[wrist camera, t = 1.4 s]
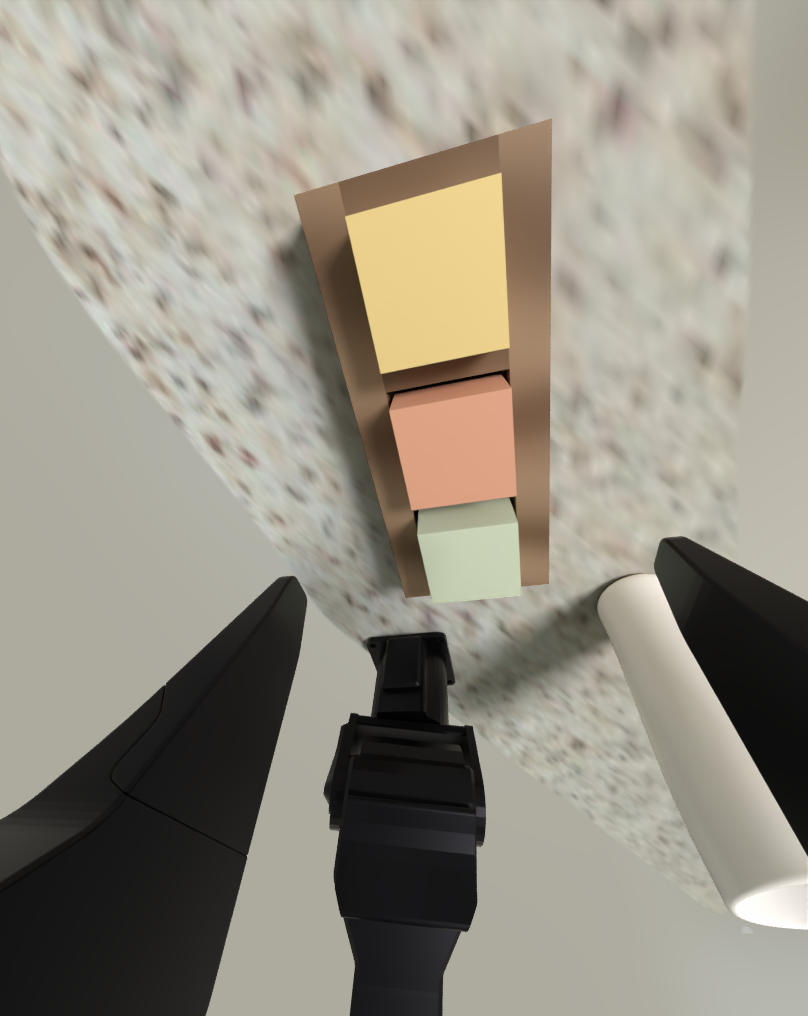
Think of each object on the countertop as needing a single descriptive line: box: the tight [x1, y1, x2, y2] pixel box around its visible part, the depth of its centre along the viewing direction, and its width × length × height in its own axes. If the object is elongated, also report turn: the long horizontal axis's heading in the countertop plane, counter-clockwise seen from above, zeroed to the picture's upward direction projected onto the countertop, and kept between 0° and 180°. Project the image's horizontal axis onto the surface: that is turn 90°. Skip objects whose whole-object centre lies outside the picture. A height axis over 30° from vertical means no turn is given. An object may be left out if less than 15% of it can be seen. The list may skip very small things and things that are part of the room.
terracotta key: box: [389, 374, 517, 510], centre depth 17 cm, size 5×5×3 cm
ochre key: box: [345, 173, 510, 374], centre depth 14 cm, size 5×5×3 cm
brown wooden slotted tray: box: [294, 119, 552, 598], centre depth 19 cm, size 21×9×2 cm, turn 11°
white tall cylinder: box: [597, 574, 808, 929], centre depth 19 cm, size 7×7×15 cm
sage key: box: [417, 497, 521, 604], centre depth 20 cm, size 5×5×3 cm
